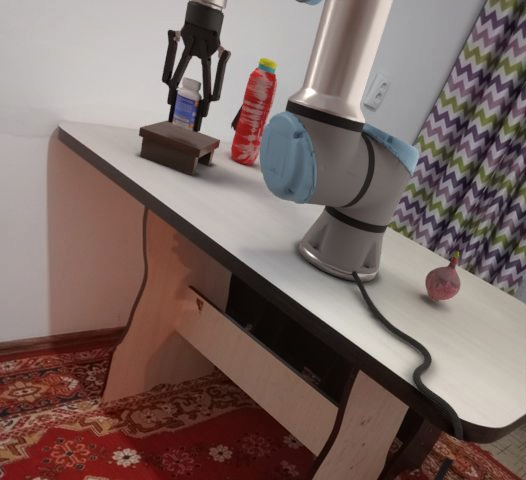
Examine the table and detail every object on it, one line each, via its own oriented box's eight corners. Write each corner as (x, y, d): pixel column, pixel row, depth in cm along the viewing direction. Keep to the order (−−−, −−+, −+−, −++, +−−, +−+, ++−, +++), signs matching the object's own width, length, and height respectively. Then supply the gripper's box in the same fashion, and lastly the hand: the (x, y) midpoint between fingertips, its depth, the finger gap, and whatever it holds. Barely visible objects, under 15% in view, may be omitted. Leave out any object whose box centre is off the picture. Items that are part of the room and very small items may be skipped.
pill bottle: (193, 133, 103) (203, 85, 98) (169, 125, 103) (178, 77, 97) (197, 129, 108) (206, 83, 103) (174, 121, 107) (182, 75, 102)
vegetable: (423, 289, 89) (450, 242, 83) (452, 305, 86) (481, 258, 81) (411, 296, 84) (439, 246, 79) (442, 313, 82) (472, 263, 76)
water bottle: (215, 150, 128) (238, 47, 115) (237, 153, 134) (262, 55, 120) (239, 166, 122) (268, 60, 108) (262, 169, 127) (292, 67, 113)
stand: (194, 177, 103) (200, 149, 99) (135, 155, 103) (139, 127, 99) (214, 164, 116) (220, 140, 113) (162, 145, 116) (166, 120, 113)
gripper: (253, 22, 96) (226, 138, 108) (170, -9, 96) (152, 111, 108) (245, 19, 89) (217, 142, 102) (156, -14, 89) (139, 113, 102)
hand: (184, 126), depth 105 cm, fingers closed on pill bottle, 5 cm apart
